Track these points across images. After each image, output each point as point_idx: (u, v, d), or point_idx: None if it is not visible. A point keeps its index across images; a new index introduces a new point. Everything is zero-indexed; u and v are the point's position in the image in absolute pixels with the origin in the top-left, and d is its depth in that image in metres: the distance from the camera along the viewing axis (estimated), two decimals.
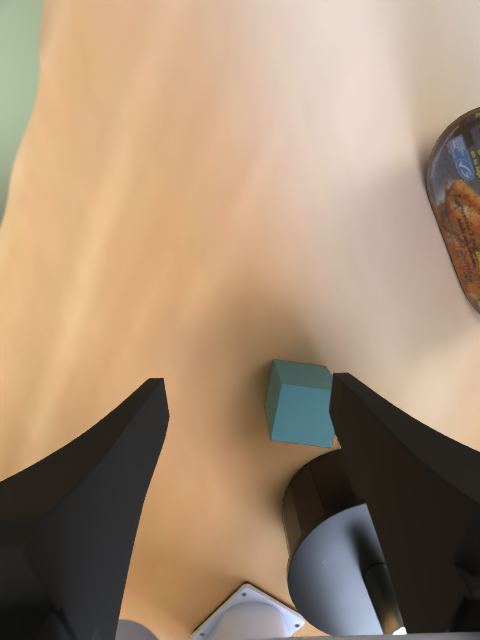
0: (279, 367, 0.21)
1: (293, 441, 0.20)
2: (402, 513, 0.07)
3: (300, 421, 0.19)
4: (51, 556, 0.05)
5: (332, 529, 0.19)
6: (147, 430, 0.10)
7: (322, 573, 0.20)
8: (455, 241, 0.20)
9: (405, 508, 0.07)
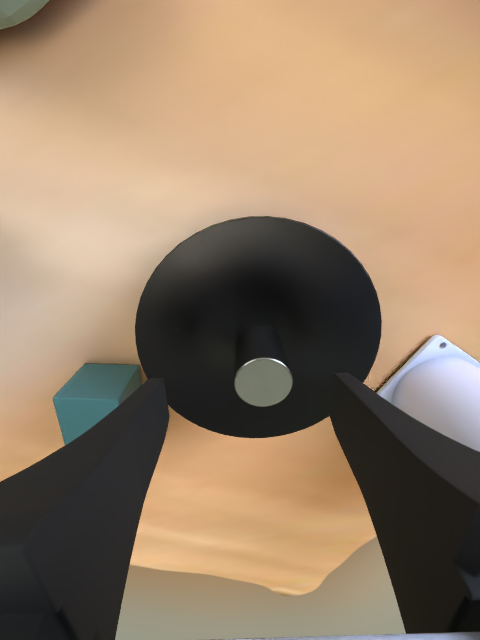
0: None
1: None
2: (402, 513, 0.07)
3: None
4: (51, 556, 0.05)
5: (192, 407, 0.17)
6: (148, 430, 0.10)
7: (257, 407, 0.17)
8: None
9: (405, 508, 0.07)
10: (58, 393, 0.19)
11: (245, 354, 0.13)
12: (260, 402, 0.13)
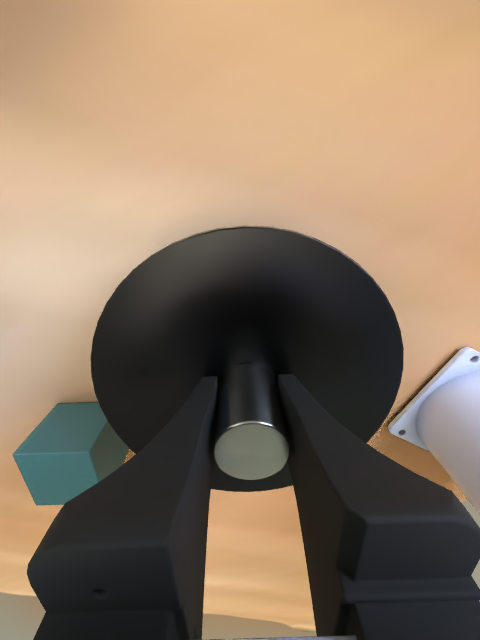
0: None
1: None
2: (313, 516, 0.07)
3: (70, 484, 0.17)
4: (177, 552, 0.05)
5: None
6: (211, 428, 0.10)
7: None
8: None
9: (314, 511, 0.07)
10: (20, 447, 0.16)
11: (225, 413, 0.10)
12: (249, 475, 0.10)
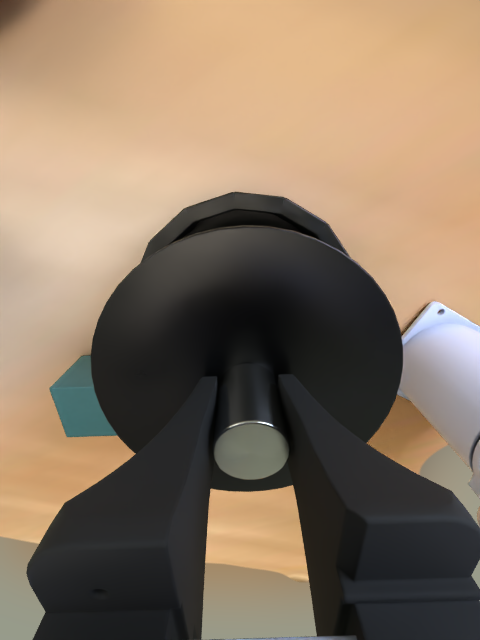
0: None
1: None
2: (313, 516, 0.07)
3: (96, 417, 0.20)
4: (177, 552, 0.05)
5: None
6: (211, 428, 0.10)
7: None
8: None
9: (314, 511, 0.07)
10: (55, 383, 0.19)
11: (225, 412, 0.10)
12: (249, 475, 0.10)
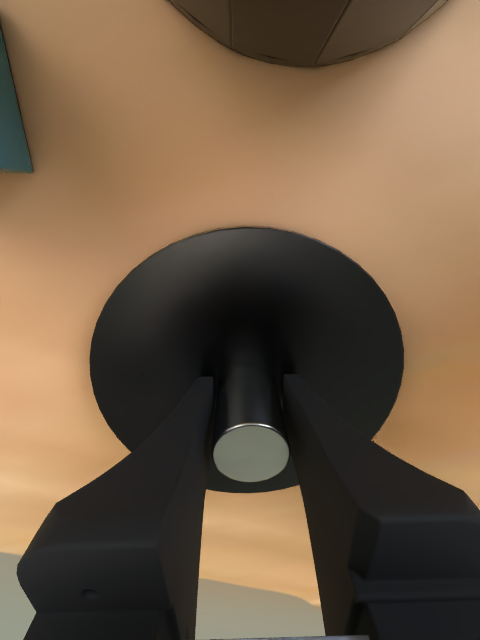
0: None
1: None
2: (322, 515, 0.07)
3: None
4: (168, 553, 0.05)
5: None
6: (206, 428, 0.10)
7: None
8: None
9: (323, 510, 0.07)
10: None
11: (224, 414, 0.09)
12: (249, 477, 0.09)
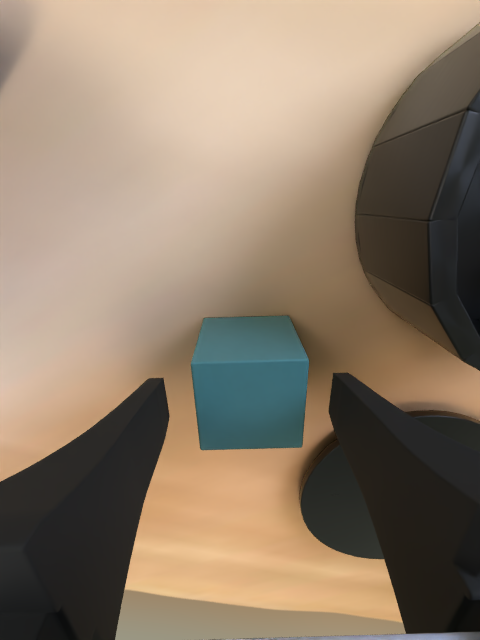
0: None
1: (300, 418, 0.11)
2: (402, 513, 0.07)
3: (262, 416, 0.11)
4: (51, 556, 0.05)
5: (343, 543, 0.20)
6: (147, 430, 0.10)
7: None
8: None
9: (405, 508, 0.07)
10: (196, 355, 0.11)
11: None
12: None
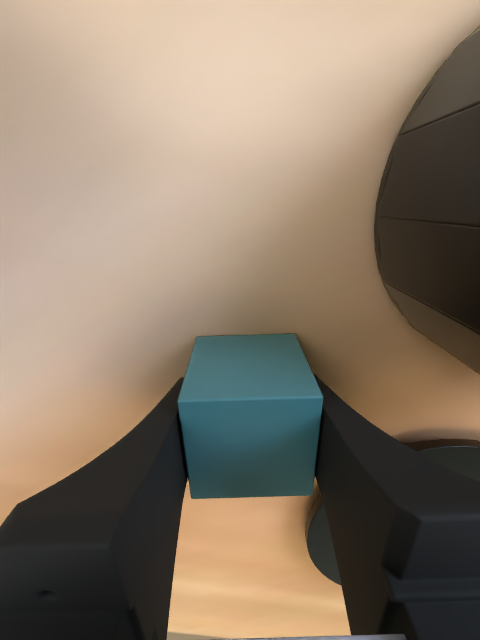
0: None
1: (311, 463, 0.09)
2: (347, 515, 0.07)
3: (264, 461, 0.09)
4: (126, 554, 0.05)
5: None
6: None
7: None
8: None
9: (349, 510, 0.07)
10: (185, 390, 0.09)
11: None
12: None
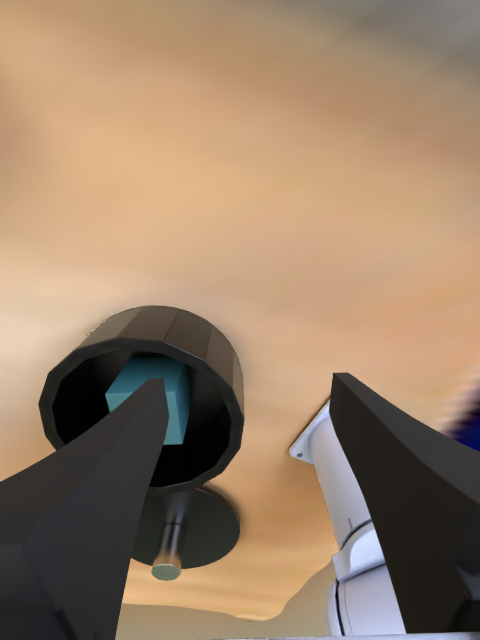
0: None
1: (177, 426, 0.18)
2: (402, 513, 0.07)
3: None
4: (51, 556, 0.05)
5: (146, 558, 0.30)
6: (147, 430, 0.10)
7: (183, 555, 0.30)
8: None
9: (405, 508, 0.07)
10: (110, 389, 0.18)
11: (156, 556, 0.26)
12: (167, 579, 0.26)
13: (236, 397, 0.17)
